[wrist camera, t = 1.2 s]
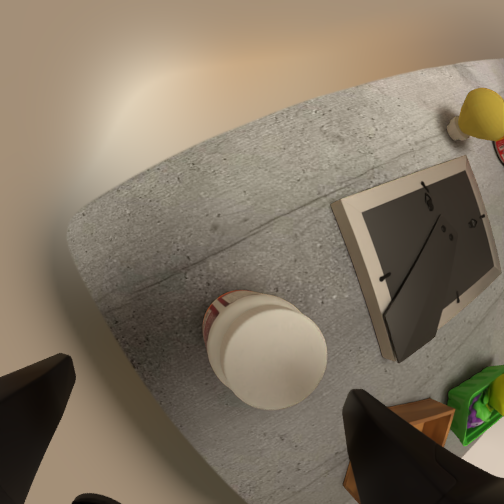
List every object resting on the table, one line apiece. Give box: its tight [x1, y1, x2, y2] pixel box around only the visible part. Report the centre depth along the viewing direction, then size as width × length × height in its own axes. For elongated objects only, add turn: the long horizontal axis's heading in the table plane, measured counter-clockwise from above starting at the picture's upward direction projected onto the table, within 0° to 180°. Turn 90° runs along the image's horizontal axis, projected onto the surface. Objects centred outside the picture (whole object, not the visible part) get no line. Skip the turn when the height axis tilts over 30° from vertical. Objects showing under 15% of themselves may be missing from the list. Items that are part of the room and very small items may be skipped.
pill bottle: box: [203, 290, 327, 410], centre depth 19 cm, size 6×6×11 cm
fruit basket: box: [447, 365, 504, 446], centre depth 24 cm, size 11×9×11 cm
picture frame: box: [330, 155, 502, 363], centre depth 28 cm, size 16×3×21 cm
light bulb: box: [447, 88, 504, 141], centre depth 27 cm, size 7×7×10 cm
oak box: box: [343, 398, 455, 504], centre depth 25 cm, size 10×10×4 cm
